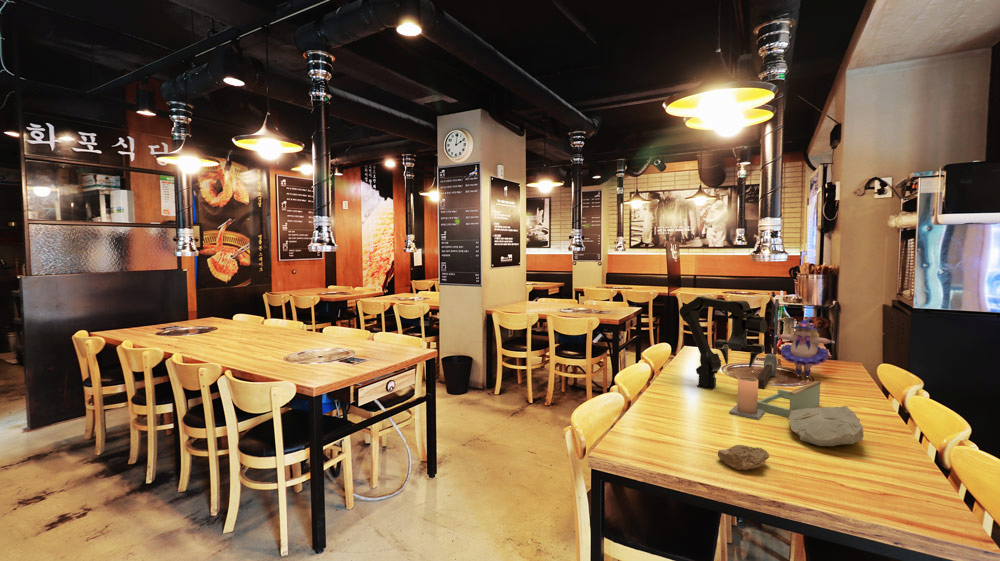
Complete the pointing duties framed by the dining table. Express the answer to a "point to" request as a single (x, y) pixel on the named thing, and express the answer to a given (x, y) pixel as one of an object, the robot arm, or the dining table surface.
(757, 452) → the rock
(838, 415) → the stone
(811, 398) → the cold frame
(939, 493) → the dining table surface
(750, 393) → the pink cup
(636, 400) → the dining table surface
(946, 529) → the dining table surface
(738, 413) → the metal tile
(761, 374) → the hammer
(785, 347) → the toy
